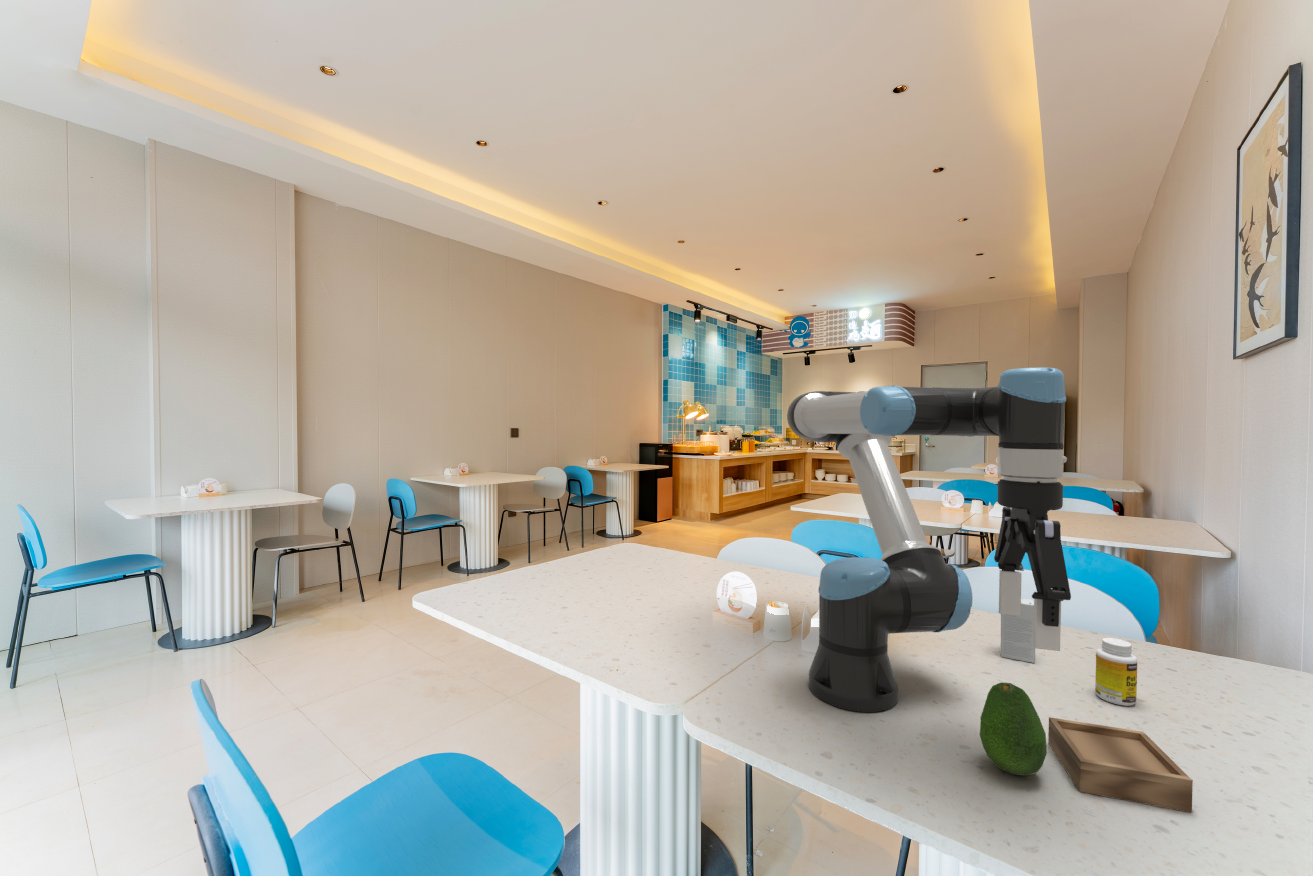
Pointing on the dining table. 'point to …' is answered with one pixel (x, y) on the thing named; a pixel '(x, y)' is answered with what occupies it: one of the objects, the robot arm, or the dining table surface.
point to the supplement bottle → (1116, 672)
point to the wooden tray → (1119, 764)
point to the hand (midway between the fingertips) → (1026, 630)
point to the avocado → (1012, 730)
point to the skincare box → (1018, 633)
